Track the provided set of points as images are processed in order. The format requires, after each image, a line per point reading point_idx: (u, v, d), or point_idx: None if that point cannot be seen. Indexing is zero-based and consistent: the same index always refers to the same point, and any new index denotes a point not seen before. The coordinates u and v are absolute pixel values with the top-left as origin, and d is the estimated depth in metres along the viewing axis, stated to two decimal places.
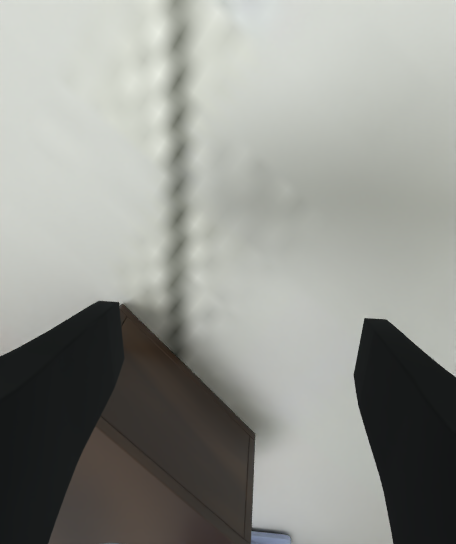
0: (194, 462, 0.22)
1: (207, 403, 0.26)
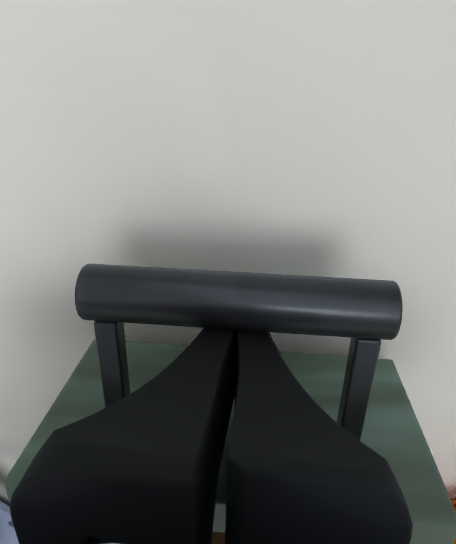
0: None
1: None
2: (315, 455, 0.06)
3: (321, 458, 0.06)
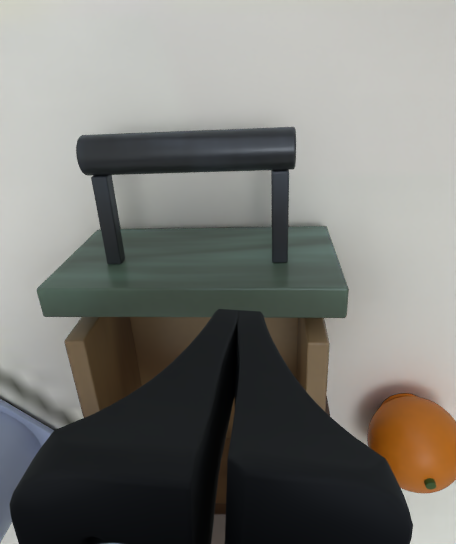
0: None
1: None
2: (315, 455, 0.06)
3: (320, 458, 0.06)
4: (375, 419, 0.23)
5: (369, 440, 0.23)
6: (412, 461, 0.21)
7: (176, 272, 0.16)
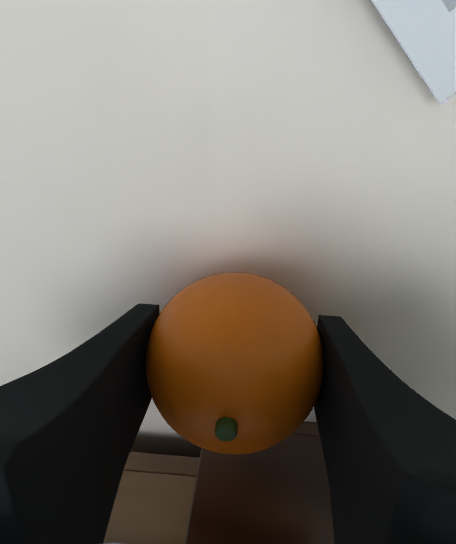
0: None
1: None
2: None
3: None
4: None
5: None
6: (188, 436, 0.10)
7: None
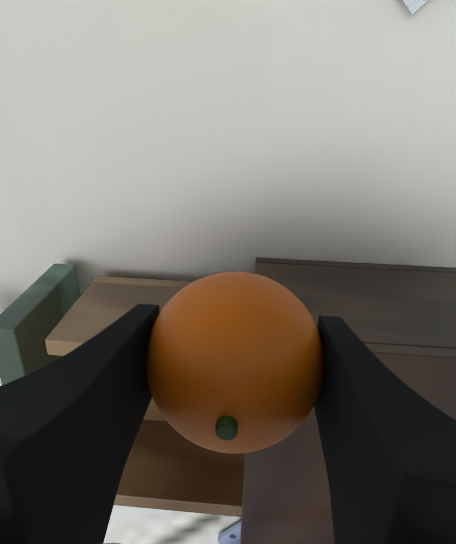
0: None
1: None
2: None
3: None
4: None
5: None
6: (188, 435, 0.10)
7: None
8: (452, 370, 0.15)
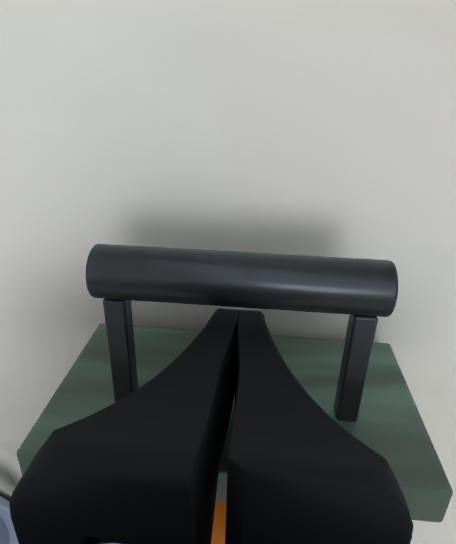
0: None
1: None
2: (315, 455, 0.06)
3: (320, 458, 0.06)
4: None
5: None
6: None
7: None
8: None
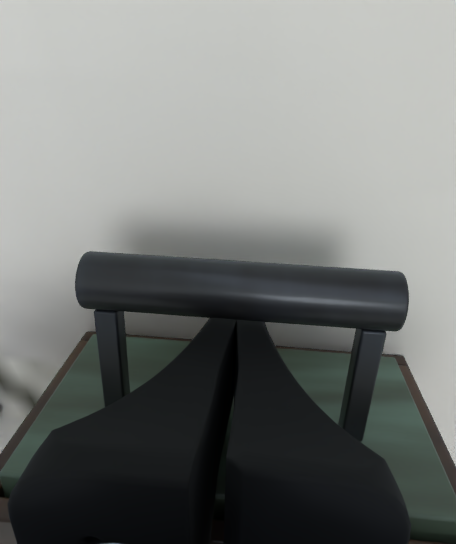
0: None
1: None
2: (313, 455, 0.06)
3: (319, 458, 0.06)
4: None
5: None
6: None
7: None
8: None
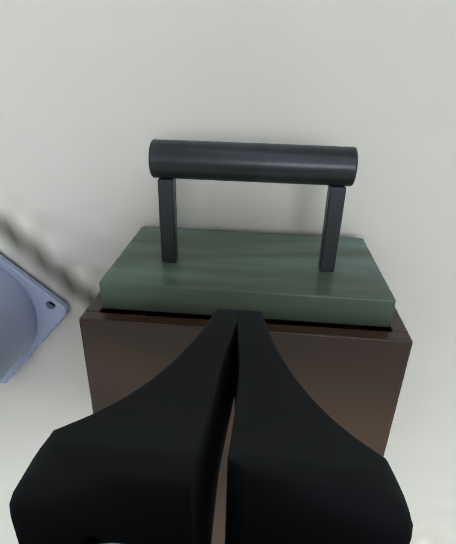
0: None
1: None
2: (314, 455, 0.06)
3: (320, 459, 0.06)
4: None
5: None
6: None
7: (230, 274, 0.17)
8: None
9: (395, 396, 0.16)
